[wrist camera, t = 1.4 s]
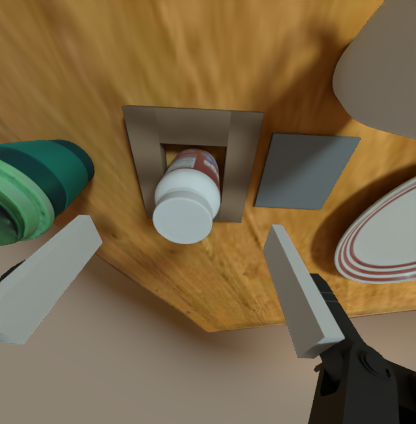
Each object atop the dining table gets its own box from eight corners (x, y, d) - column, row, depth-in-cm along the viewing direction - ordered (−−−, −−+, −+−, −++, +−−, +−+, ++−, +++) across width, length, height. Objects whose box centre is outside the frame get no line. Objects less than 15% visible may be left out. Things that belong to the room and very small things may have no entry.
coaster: (272, 132, 18) (273, 133, 18) (358, 137, 18) (361, 138, 18) (254, 204, 24) (254, 206, 24) (319, 208, 24) (320, 209, 24)
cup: (27, 128, 19) (-172, 162, 9) (92, 122, 18) (-46, 151, 9) (68, 189, 24) (-34, 254, 14) (120, 185, 23) (53, 251, 13)
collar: (130, 105, 17) (121, 106, 16) (259, 111, 17) (264, 113, 16) (151, 210, 25) (147, 218, 24) (239, 214, 25) (241, 222, 24)
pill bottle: (222, 185, 23) (229, 244, 14) (182, 194, 24) (163, 255, 15) (212, 140, 19) (211, 179, 10) (164, 153, 20) (126, 199, 11)
